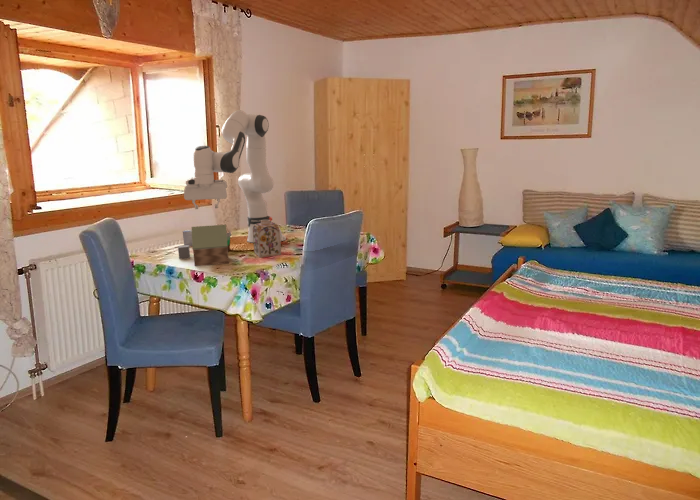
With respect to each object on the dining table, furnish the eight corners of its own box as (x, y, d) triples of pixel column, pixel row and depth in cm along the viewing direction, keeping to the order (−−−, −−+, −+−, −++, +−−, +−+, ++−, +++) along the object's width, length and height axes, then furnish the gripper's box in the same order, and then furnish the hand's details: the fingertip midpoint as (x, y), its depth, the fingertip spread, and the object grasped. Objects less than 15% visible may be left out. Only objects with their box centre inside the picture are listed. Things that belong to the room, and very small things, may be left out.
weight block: (190, 256, 283) (188, 244, 282) (189, 258, 278) (188, 246, 277) (180, 256, 282) (178, 245, 281) (179, 259, 277) (178, 247, 276)
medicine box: (200, 244, 311) (198, 229, 309) (197, 246, 307) (195, 231, 305) (186, 244, 312) (185, 229, 310) (183, 246, 308) (182, 231, 306)
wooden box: (228, 257, 277) (227, 242, 275) (228, 263, 266) (227, 247, 264) (195, 260, 274) (194, 244, 272) (194, 265, 263) (193, 249, 261)
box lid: (226, 225, 269) (225, 224, 268) (227, 246, 264) (227, 246, 263) (191, 227, 266) (191, 226, 265) (192, 249, 261) (192, 248, 260)
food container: (212, 254, 286) (210, 235, 284) (209, 251, 292) (207, 233, 290) (235, 250, 292) (233, 232, 290) (232, 248, 297) (230, 230, 295)
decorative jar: (253, 253, 286) (251, 219, 281) (275, 250, 290) (273, 217, 286) (259, 257, 275) (257, 222, 271) (281, 255, 279) (279, 220, 275)
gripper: (226, 178, 268) (228, 206, 271) (183, 180, 264) (186, 208, 267) (226, 179, 262) (228, 208, 265) (182, 181, 258) (184, 210, 261)
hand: (206, 208), depth 266 cm, fingers open, 8 cm apart
